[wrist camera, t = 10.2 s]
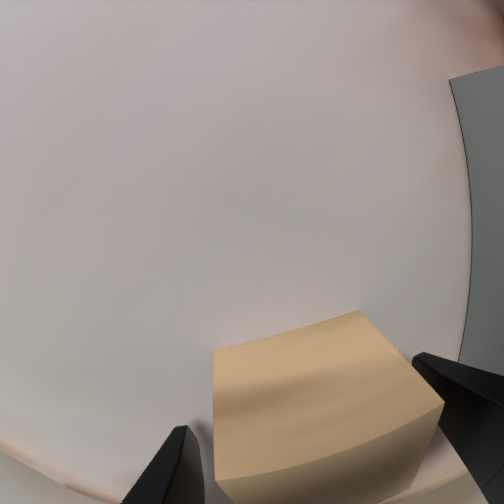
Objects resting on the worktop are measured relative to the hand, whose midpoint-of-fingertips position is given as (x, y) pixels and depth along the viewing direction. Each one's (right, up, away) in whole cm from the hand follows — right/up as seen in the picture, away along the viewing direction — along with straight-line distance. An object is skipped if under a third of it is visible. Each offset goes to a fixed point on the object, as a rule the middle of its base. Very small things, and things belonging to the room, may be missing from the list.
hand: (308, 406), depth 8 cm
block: (0, 0, +1) cm, 1 cm away
